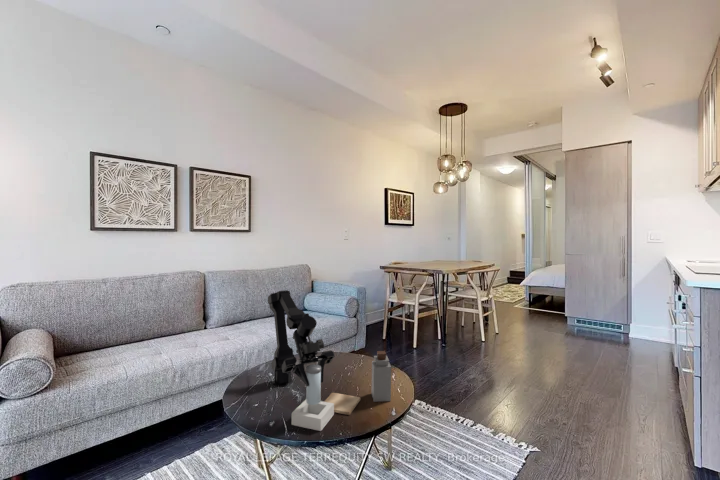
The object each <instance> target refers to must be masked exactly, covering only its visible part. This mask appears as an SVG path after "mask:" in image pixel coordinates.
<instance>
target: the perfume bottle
mask: <svg viewBox="0 0 720 480" xmlns="http://www.w3.org/2000/svg"><path fill="white" fill-rule="evenodd" d="M373 358H374V360H372V361H371V397H372V400H373V403H374V402H391V400H392V398H391V397H392V394H391V393H392V366H391V363H390V359H389V358H388V355H387V352H386V351H385V350H378V351H376V355H373Z"/></svg>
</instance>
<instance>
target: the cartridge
mask: <svg viewBox="0 0 720 480" xmlns="http://www.w3.org/2000/svg"><path fill="white" fill-rule="evenodd" d="M305 373H306V376H307V379H308V383H309V386H306V385H305V387H306V388H305V389H306V390H305V393H306V396H305V400H306V402H307V404H310V405H315V404H318V403H320V402H321V401H322V399H321V398H322V396H321V393H322V391H321V390H322V387H321V386H322V383H321V366H320V365H317V363H316V364H308V365H306V368H305Z"/></svg>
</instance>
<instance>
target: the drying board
mask: <svg viewBox="0 0 720 480" xmlns="http://www.w3.org/2000/svg"><path fill="white" fill-rule="evenodd" d="M323 402H328V403H334V413H336V414H337V413H338V414H342V415H346V416H347V415H348V416H350V415H351V414H352V413H353V411H354V409H355V408H356V407H357V405H358V404H359V402H361V396H360V397H359V396H355V395H349V394H343V393H338V392H331V393H330V394H329V396H328V397H327V398H325V400H324V401H323Z"/></svg>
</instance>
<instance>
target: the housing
mask: <svg viewBox="0 0 720 480" xmlns="http://www.w3.org/2000/svg"><path fill="white" fill-rule="evenodd" d="M334 415H335V412H334V403H328V402H324V401H323V400H321V402H320V403H318V404H315V405H310V404H307V402H306V399H305V400H303V401H302V402H301V403H300V405H299V406H297V407H296V408H295V409H294V410H293V411H292V412H291V426H295V427H300V428H305V429H309V430H310V429H311V430H314V431H320V432H321V431H323V429H324V428H325V426H326V425H327V424H328V423H329V421H330V420H332V417H333V416H334Z"/></svg>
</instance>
